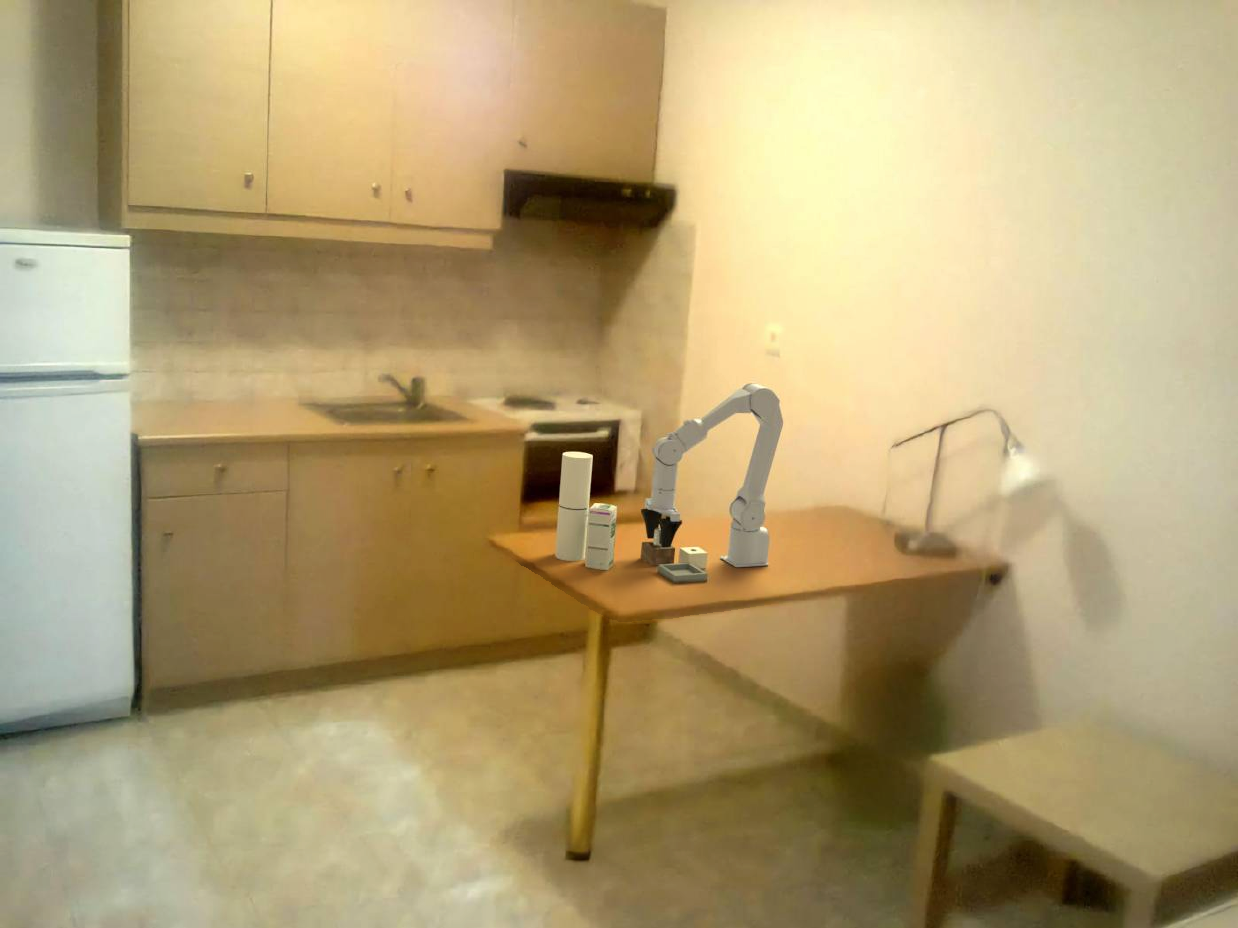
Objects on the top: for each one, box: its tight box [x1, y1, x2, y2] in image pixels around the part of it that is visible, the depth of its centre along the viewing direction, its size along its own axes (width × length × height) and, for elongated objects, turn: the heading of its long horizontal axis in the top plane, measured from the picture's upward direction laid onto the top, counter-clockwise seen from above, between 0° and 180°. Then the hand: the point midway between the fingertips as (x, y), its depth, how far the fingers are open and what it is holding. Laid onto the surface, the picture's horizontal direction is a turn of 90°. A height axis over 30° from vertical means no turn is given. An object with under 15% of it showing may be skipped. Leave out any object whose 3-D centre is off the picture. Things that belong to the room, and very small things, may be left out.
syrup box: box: [584, 502, 618, 571], centre depth 251 cm, size 6×6×14 cm
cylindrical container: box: [554, 451, 594, 562], centre depth 255 cm, size 7×7×25 cm
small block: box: [677, 546, 708, 570], centre depth 258 cm, size 5×5×4 cm
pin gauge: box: [652, 527, 662, 548], centre depth 259 cm, size 3×3×8 cm
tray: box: [657, 562, 708, 584], centre depth 249 cm, size 8×8×2 cm
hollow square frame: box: [640, 541, 676, 566], centre depth 259 cm, size 6×6×4 cm
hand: (658, 542), depth 259 cm, fingers open, 7 cm apart
